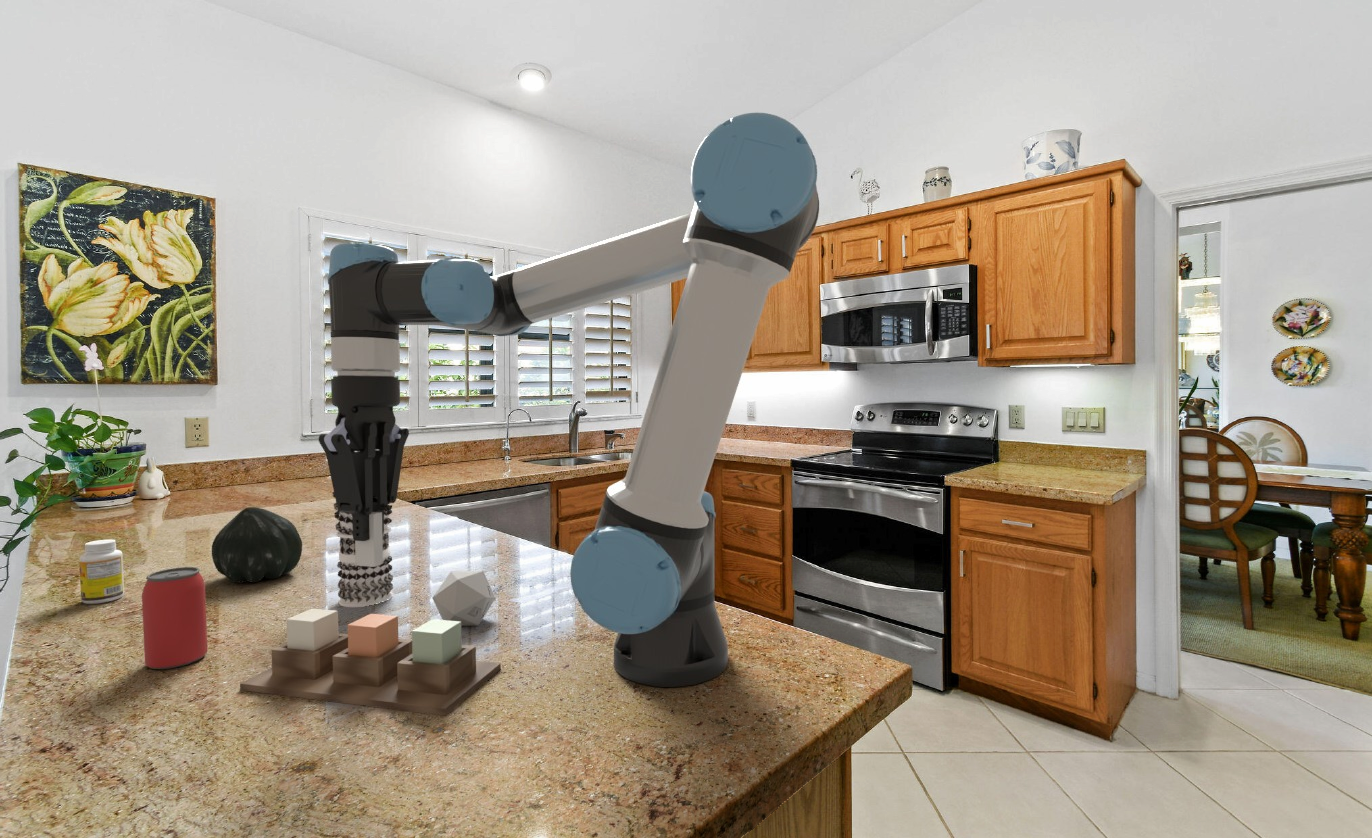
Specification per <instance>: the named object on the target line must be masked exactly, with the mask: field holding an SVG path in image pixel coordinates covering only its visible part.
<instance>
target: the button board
mask: <svg viewBox="0 0 1372 838" xmlns="http://www.w3.org/2000/svg"><path fill="white" fill-rule="evenodd" d="M338 634H339V639H337V640H335V641H333V642H331V643H329V644H327V645H325V646H323V647H321V648H319V649H317V650H315V651H310V650H300V649H291V648H287V642H285V643H283V644H280V645H277V646H276V647H274V648H272V649H271V651H270V652H271V668H269V669H267V670H264V671H262V672H260V673H258V674H256V675H254V676H252V677H250V678H248V679H246V680H244V681H242V682H240V683H239V690H240V691H247V692H253V693H259V694H270V695H276V696H284V697H294V698H301V699H310V700H317V701H325V702H333V703H341V704H349V705H356V706H363V705H366V706H365V707H371V708H380V709H387V710H388V709H389V710H394V711H395V710H398V711H403V712H404V711H406V712H412V713H420V714H428V715H435V716H442V717H445V716H448V714H450V713H451V712H452V711H454V710H455V708H456V707H458V706H459V705H461V703H463V702H464V701H465V700H466V699H467V698H469V696H471V695H472V694H473V693H474V692H476V691H477V690H478V689H479V688H480V687H482V686H483V685H484V684H485V683H486V682H487V681H488V680H490V679H491V678H492V677H493V676H495V675H496V674H498V672H499V671H500V670H501V668H502V667H501V664H502V663H500V662H493V661H491V662H490V661H483V660H482V661H481V660H477V648H476V645H475V646H474V645H465V644H462V652H460V653H459V654H458V655H456V656H455V657H453V658H452V659H451V660H449V661H448V662H446V663H445V664H443V665H442V664H433V663H423V662H414V661H413V654H412V639H407V638H406V639H404V638H398V639H399V645H398V646H396V647H394V648H393V649H391V650H389V651H387V652H386V653H384V654H382V655H381V656H379V657H377V658H376V657H367V656H357V655H348V633H343V632H342V633H341V632H338ZM372 706H373V707H372Z"/></svg>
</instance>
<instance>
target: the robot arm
mask: <svg viewBox="0 0 1372 838" xmlns="http://www.w3.org/2000/svg"><path fill="white" fill-rule="evenodd" d="M690 173H691V174H690V187H691V194H692V197H693V200H694V202H693V203H694V204H693V208H692V210H691V212H690V213H687V214H684V215H680V216H677V217H674V218H671V219H668V220H664V221H662V222H659V223H656V224H652V225H650V226H646V227H643V228H640V229H636V230H634V231H631V232H628V233H624V234H620V235H619V236H615V237H612V238H608V239H606V240H602V241H599V242H597V243H594V244H591V245H587V246H583V247H581V248H578V249H575V250H572V251H568V252H566V253H562V254H560V255H556V256H553V257H550V258H547V259H543V260H541V261H538V262H534V263H531V264H528V265H525V266H522V267H519V268H517V269H514V270H510V271H507V272H504V273H501V274H498V275H494V276H491V275H490V274H489V272H488V271H486V270H485V268H484V266H483V265H482V264H481V263H480V262H479V261H476V260H474V259H467V258H466V259H461V258H460V259H457V258H453V257H445V258H441V259H429V260H410V261H399V256H398V254H397V252H396V251H395V250H394V249H392V248H391V247H388V246H383V245H380V244H376V243H375V244H373V243H368V242H367V243H365V242H364V243H363V242H362V243H359V242H358V243H357V242H343V243H338V244H336V245H335V246H333V247H332V249H331V250H330V255H329V269H328V277H327V284H328V293H329V309H330V310H329V312H330V313H329V315H330V317H329V319H330V351H331V352H330V358H331V370H332V371H333V372H337V375H333V376H332V378H331V379H330V384H331V386H330V387H331V388H330V390H331V404H332V405H333V406H334V407H336V408H337V411H338V412H337V416H336V418H335V422H334V423H335V427H334V428H333V429H332V430H331V431H330V432H329V433H321V434H320V435H319V436H318V443H319V444H320V446H321V448H322V449H323V451H324V454H325V455H326V460H327V466H328V470H329V474H330V479H331V485H332V488H333V492H334V494H335V498H334V499H335V503H337V508H338V510H339V511H344V512H345V513H349V514H351V515H352V521H353V539H354V541H355V559H356V565H357V566H370V567H375V566H378V565H381V564H383V545H382V535H383V533H384V511H390V510H392V509H393V504H394V503H396V501H397V498H398V491H399V482H400V477H401V471H402V469H401V468H402V464H403V455H404V450H405V445H406V442H407V440H408V437H409V435H410V431H409V429H408V428H407V427H400V426H399V425H398V424H397V421H396V417H395V413H394V407H397V406H399V405H400V403H401V385H400V383H401V381H400V379H399V377H397V376H395V375H396V374H395V373H398V372H400V371H401V356H400V354H401V352H400V349H401V348H400V326H441V327H447V328H448V327H449V328H452V329H453V328H455V329H460V330H461V329H462V330H467V331H474V332H480V333H484V334H485V333H486V334H490V335H492V336H496V337H508V336H511V337H512V336H518V335H520V334H523V333H524V332H526V331H527V330H528V329H529V327H531V325H532V324H536V323H539V322H542V321H546V320H549V319H553V318H556V317H559V316H562V315H566V314H570V313H573V312H577V311H581V310H584V309H586V308H590V307H593V306H597V305H601V304H605V303H607V302H610V301H614V300H617V299H621V298H624V297H628V296H631V295H635V294H638V293H641V292H645V291H648V290H652V289H655V288H658V287H663V286H665V285H668V284H672V283H676V282H679V281H682V280H685V279H686V280H685V284H684V286H683V290H682V292H681V296H680V299H679V303H678V306H677V309H676V311H675V312H676V313H675V316H674V319H673V321H672V324H671V325H672V326H671V329H670V332H669V334H668V339H667V342H666V345H665V348H664V351H663V353H662V354H663V355H662V356H661V360H660V364H659V367H658V371H657V373H656V377H655V380H654V383H653V387H652V390H651V393H650V397H649V400H648V404H647V405H646V409H645V413H644V415H643V419H642V422H641V425H640V428H639V429H640V430H639V432H638V434H637V435H638V436H637V438H636V441H635V446H634V448H633V451H632V455H631V458H630V461H629V465H628V468H627V471H626V474H625V477H624V478H622V479H621V480H619V481H617V482H614V483H613V484H611V485H609V486H608V488H607V490H606V492H605V495H604V498H603V501H602V505H601V508H600V511H599V514H598V518H597V520H596V524H595V527H594V530H593V531H592V532H589V533H588V534H586V535H585V536H584V539H583V540H582V541H581V542H580V544H579V545H578V547H577V549H576V550H575V552H574V554H573V556H572V560H571V563H570V572H569V573H570V574H569V575H570V578H569V579H570V584H571V589H572V591H573V592H572V593H573V594H574V597H575V598H576V599H577V601H578V603H579V604H580V606H581V609H582V611H584V613H585V614H586V615H587V616H588V617H589V618H590V619H591V620H592V621H593V622H594V623H596V624H597V625H599V626H600V627H602V628H604V629H606V630H609V631H611V632H614V633H617V635H616V638H615V642H614V645H613V666H614V669H615V670H616V672H617V673H618V674H619V675H620V676H622V677H624V678H625V679H627V680H629V681H632V682H634V683H637V684H641V685H646V686H652V687H660V688H661V687H666V688H668V687H669V688H674V687H685V686H692V685H698V684H701V683H704V682H707V681H710V680H713V679H714V678H717V677H718V676H720V674H722V673H723V672H725V670H726V669H727V667H728V665H729V664H728V663H729V647H728V646H729V645H728V642H727V638H726V635H725V632H724V629H723V626H722V623H721V620H720V616H719V613H718V611H717V607H716V603H715V520H716V517H717V516H716V514H717V513H716V512H715V502H714V498H713V495H712V494H711V493H710V492H707V491H705V488H706V485H707V483H708V478H709V476H710V473H711V470H712V466H713V464H714V460H715V458H716V455H717V451H718V449H719V445H720V442H721V439H722V436H723V433H724V430H725V426H726V424H727V421H728V417H729V415H730V412H731V409H732V405H733V402H734V399H735V396H736V392H737V390H738V387H739V385H740V381H741V377H742V374H743V371H744V369H745V365H746V362H747V360H748V356H749V354H750V350H751V347H752V343H753V341H754V338H755V334H756V332H757V328H758V325H759V322H760V318H761V317H762V313H763V310H764V306H765V304H766V300H767V297H768V295H769V291H770V289H771V288H772V287H773V286H775V285H777V284H779V283H780V282H781V283H782V281H785V280H786V279H788V278H789V276H790V274H791V271H792V268H793V265H794V262H795V259H796V257H797V253H798V251H799V250H801V248H802V247H803V246H805V245H806V243H807V242H808V240H809V239H810V238H811V237H812V234H813V232H814V231H815V229H816V226H817V223H818V219H819V214H820V200H819V194H818V189H817V188H818V187H817V181H818V180H817V179H818V165H817V161H816V157H815V155H814V152H813V150H812V148H811V146H810V145H809V142H808V141H807V139H806V137H805V136H804V134H803V133H802V131H800V130H799V128H798V127H796V126H795V125H794V124H793V123H791V122H790V121H788V120H786V118H783V117H780V116H778V115H775V114H771V113H765V112H748V113H743V114H739V115H736V116H733V117H732V118H731V117H730V118H729V119H727V120H725V121H724V122H723V123H720V124H718V125H717V126H716V127H714V128H713V129H712V130H711V131H709V133H708V134H707V135H706V136H705V137H704V139H703V140H702V142H701V143H700V144H699V147H698V148H697V149H696V153H695V154H694V158H693V160H692V165H691V171H690ZM387 492H388V493H387ZM390 504H391V505H390ZM338 510H337V511H338Z"/></svg>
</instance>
